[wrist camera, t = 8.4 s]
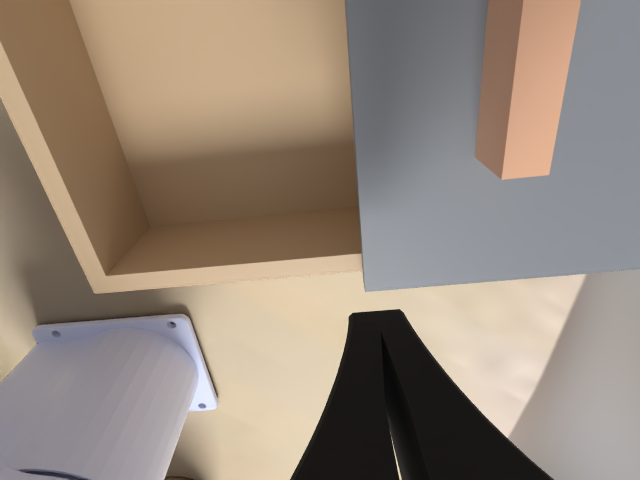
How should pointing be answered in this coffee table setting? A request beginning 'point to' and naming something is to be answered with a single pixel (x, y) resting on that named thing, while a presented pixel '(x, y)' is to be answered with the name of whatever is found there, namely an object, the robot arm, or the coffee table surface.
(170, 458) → the robot arm
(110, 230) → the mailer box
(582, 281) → the coffee table surface
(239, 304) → the coffee table surface
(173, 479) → the mug
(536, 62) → the lid
